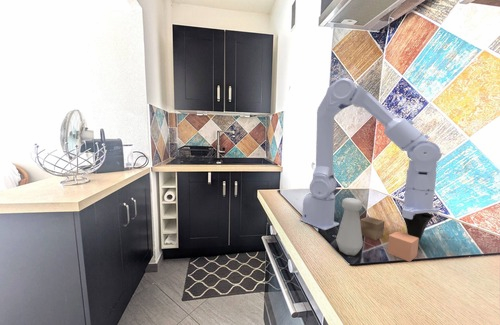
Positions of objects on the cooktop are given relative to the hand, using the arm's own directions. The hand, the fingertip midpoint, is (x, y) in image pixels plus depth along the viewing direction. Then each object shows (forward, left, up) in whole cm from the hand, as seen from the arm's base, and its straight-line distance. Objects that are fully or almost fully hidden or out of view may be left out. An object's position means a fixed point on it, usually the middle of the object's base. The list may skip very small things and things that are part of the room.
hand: (414, 239), depth 54 cm
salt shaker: (-8, -17, -2) cm, 19 cm away
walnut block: (-9, -3, -2) cm, 10 cm away
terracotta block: (0, -8, -2) cm, 8 cm away
